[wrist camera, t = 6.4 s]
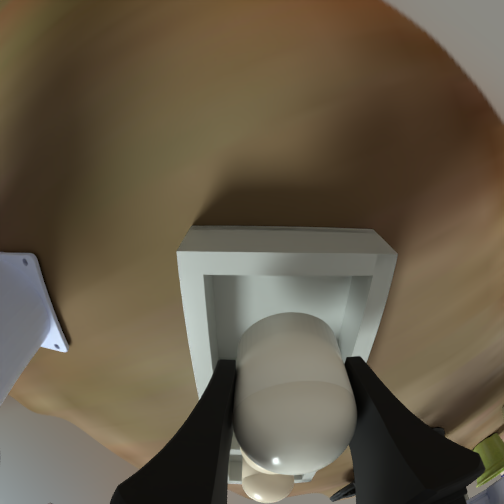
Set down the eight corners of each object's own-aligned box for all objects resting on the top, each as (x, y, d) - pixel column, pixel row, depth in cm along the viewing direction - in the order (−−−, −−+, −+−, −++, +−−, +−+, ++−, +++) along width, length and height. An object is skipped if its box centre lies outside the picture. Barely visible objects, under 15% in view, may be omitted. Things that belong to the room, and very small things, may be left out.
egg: (238, 382, 13) (232, 490, 8) (236, 311, 11) (224, 443, 6) (326, 380, 13) (348, 482, 8) (344, 311, 11) (390, 430, 6)
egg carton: (221, 459, 24) (217, 510, 18) (191, 225, 14) (149, 299, 8) (307, 458, 24) (313, 509, 18) (372, 229, 14) (438, 297, 8)
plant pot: (473, 454, 33) (485, 484, 25) (457, 457, 31) (470, 491, 23) (507, 427, 30) (522, 456, 22) (495, 426, 28) (512, 460, 20)
